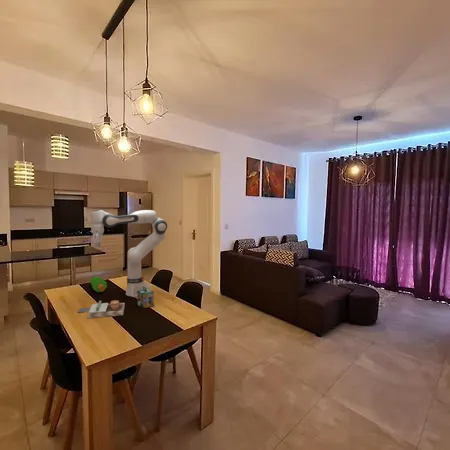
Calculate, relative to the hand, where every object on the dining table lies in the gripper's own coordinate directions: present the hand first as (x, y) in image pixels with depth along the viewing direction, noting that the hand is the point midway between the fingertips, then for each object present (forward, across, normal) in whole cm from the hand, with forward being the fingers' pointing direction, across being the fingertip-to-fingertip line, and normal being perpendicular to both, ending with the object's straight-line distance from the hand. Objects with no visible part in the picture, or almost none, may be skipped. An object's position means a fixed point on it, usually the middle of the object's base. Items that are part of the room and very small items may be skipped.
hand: (98, 247), depth 208 cm
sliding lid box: (+42, -29, -10) cm, 52 cm away
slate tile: (+42, -22, +6) cm, 47 cm away
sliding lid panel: (+38, -29, -5) cm, 48 cm away
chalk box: (+42, -21, -36) cm, 59 cm away
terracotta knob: (+41, -29, -15) cm, 53 cm away
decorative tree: (+42, +25, +5) cm, 49 cm away
